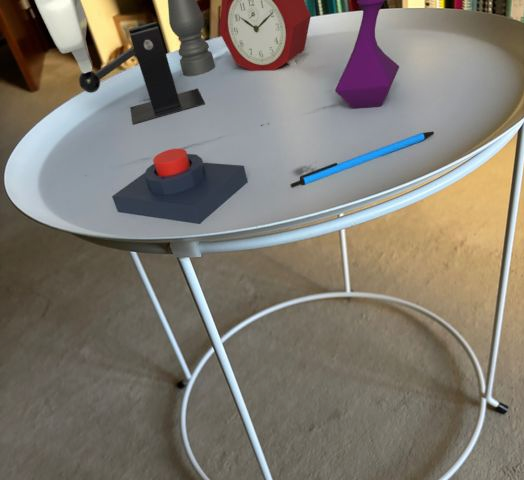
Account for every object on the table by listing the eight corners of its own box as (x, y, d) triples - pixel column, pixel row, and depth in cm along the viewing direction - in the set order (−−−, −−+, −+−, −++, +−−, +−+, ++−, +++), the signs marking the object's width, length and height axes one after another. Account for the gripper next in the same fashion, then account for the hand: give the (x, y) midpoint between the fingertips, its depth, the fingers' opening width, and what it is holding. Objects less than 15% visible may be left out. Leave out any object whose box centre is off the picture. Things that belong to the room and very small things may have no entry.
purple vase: (400, 89, 84) (393, -60, 73) (391, 110, 79) (382, -47, 68) (349, 94, 87) (334, -49, 76) (337, 114, 82) (320, -36, 71)
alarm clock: (228, 77, 106) (199, -54, 93) (254, 60, 111) (229, -66, 98) (299, 76, 98) (278, -68, 86) (323, 58, 103) (306, -80, 91)
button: (150, 176, 69) (145, 162, 68) (171, 161, 72) (167, 147, 71) (176, 179, 67) (171, 164, 66) (196, 163, 70) (192, 149, 69)
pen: (290, 187, 68) (288, 178, 67) (432, 134, 71) (432, 125, 70) (293, 190, 67) (291, 181, 67) (437, 136, 71) (437, 127, 70)
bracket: (134, 130, 94) (105, 45, 86) (132, 114, 101) (104, 33, 93) (206, 110, 95) (184, 23, 87) (199, 95, 102) (178, 13, 93)
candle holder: (178, 82, 110) (133, -79, 94) (193, 71, 114) (152, -86, 98) (207, 80, 107) (166, -87, 91) (221, 68, 112) (184, -94, 96)
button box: (117, 212, 72) (105, 182, 70) (168, 175, 78) (158, 145, 76) (199, 224, 66) (189, 191, 63) (248, 182, 71) (240, 150, 69)
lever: (87, 99, 93) (74, 80, 91) (88, 93, 95) (74, 75, 93) (161, 47, 90) (149, 27, 88) (159, 43, 93) (147, 24, 91)
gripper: (33, -35, 91) (70, 60, 99) (19, -18, 75) (65, 93, 84) (73, -46, 91) (106, 50, 100) (67, -32, 75) (108, 81, 84)
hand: (87, 70), depth 92 cm, fingers closed, pressing on lever
